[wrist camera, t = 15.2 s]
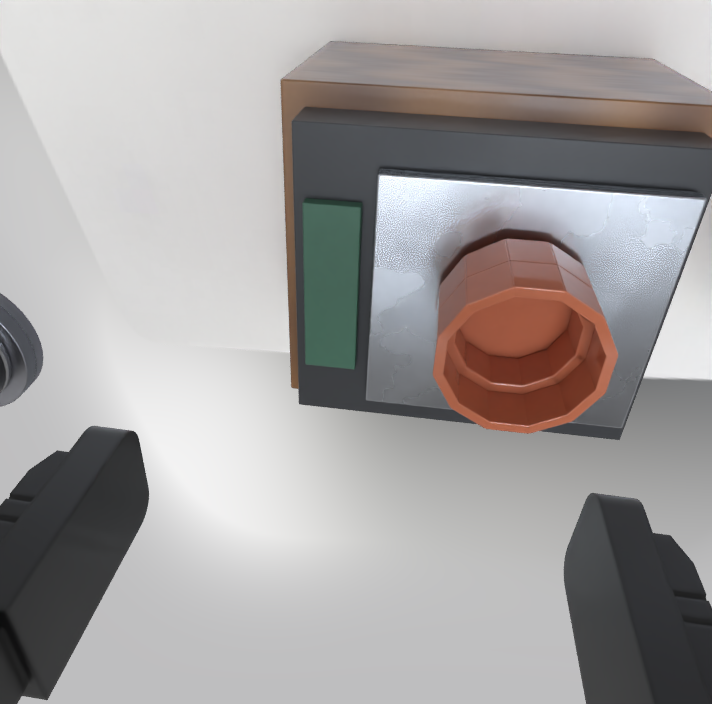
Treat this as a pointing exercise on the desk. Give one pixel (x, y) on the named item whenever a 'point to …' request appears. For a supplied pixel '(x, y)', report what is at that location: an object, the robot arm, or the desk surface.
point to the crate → (483, 98)
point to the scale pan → (525, 222)
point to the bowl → (521, 338)
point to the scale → (441, 155)
